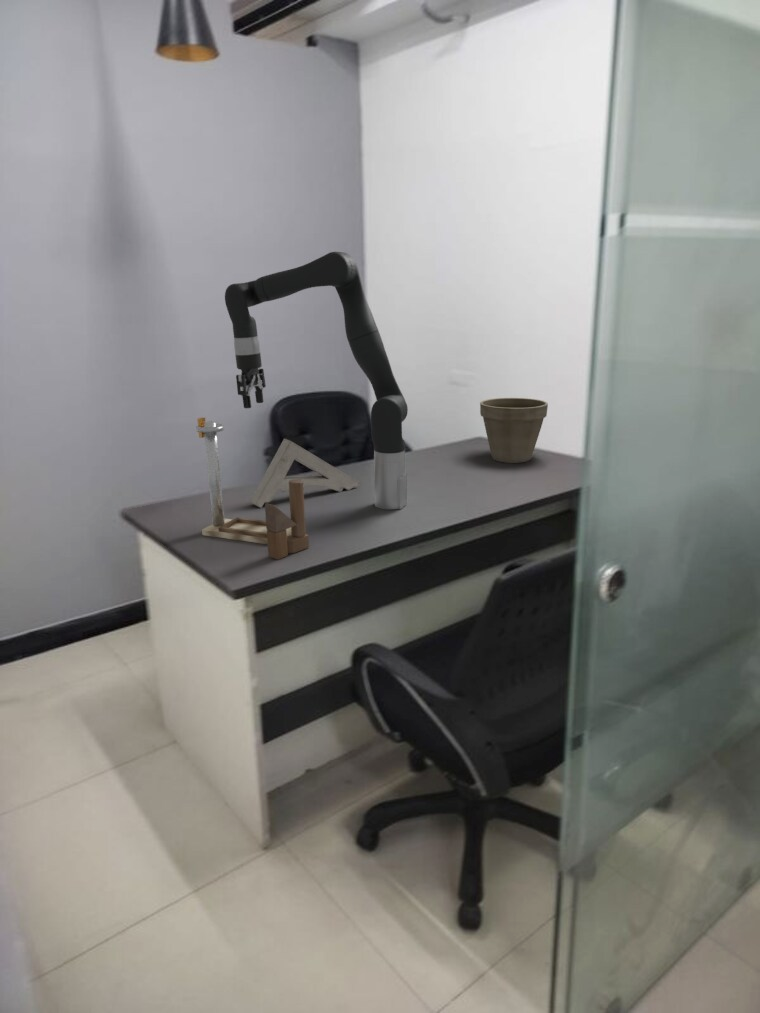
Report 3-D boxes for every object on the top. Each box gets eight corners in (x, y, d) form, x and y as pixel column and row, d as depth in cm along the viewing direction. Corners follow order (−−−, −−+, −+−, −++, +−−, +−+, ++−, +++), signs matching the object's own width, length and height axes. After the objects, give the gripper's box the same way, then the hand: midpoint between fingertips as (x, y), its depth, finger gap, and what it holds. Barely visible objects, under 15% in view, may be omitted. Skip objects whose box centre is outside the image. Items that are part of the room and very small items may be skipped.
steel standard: (236, 527, 190) (228, 417, 180) (222, 535, 184) (213, 422, 174) (215, 524, 192) (205, 415, 183) (200, 532, 186) (190, 420, 176)
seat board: (298, 533, 185) (298, 524, 184) (280, 546, 176) (280, 536, 175) (223, 523, 193) (222, 514, 192) (202, 535, 184) (201, 526, 184)
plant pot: (471, 451, 271) (473, 397, 264) (531, 449, 273) (535, 395, 267) (487, 468, 247) (490, 408, 240) (553, 465, 250) (557, 406, 243)
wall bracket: (328, 542, 223) (255, 505, 205) (321, 538, 227) (249, 501, 208) (359, 482, 225) (290, 440, 206) (352, 479, 228) (284, 438, 210)
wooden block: (267, 556, 169) (263, 487, 164) (299, 544, 177) (296, 477, 171) (277, 560, 167) (273, 490, 161) (309, 547, 175) (306, 480, 169)
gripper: (248, 355, 199) (254, 410, 204) (269, 349, 212) (274, 401, 217) (225, 355, 201) (232, 410, 206) (247, 349, 214) (253, 401, 219)
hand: (254, 405), depth 212 cm, fingers open, 8 cm apart
